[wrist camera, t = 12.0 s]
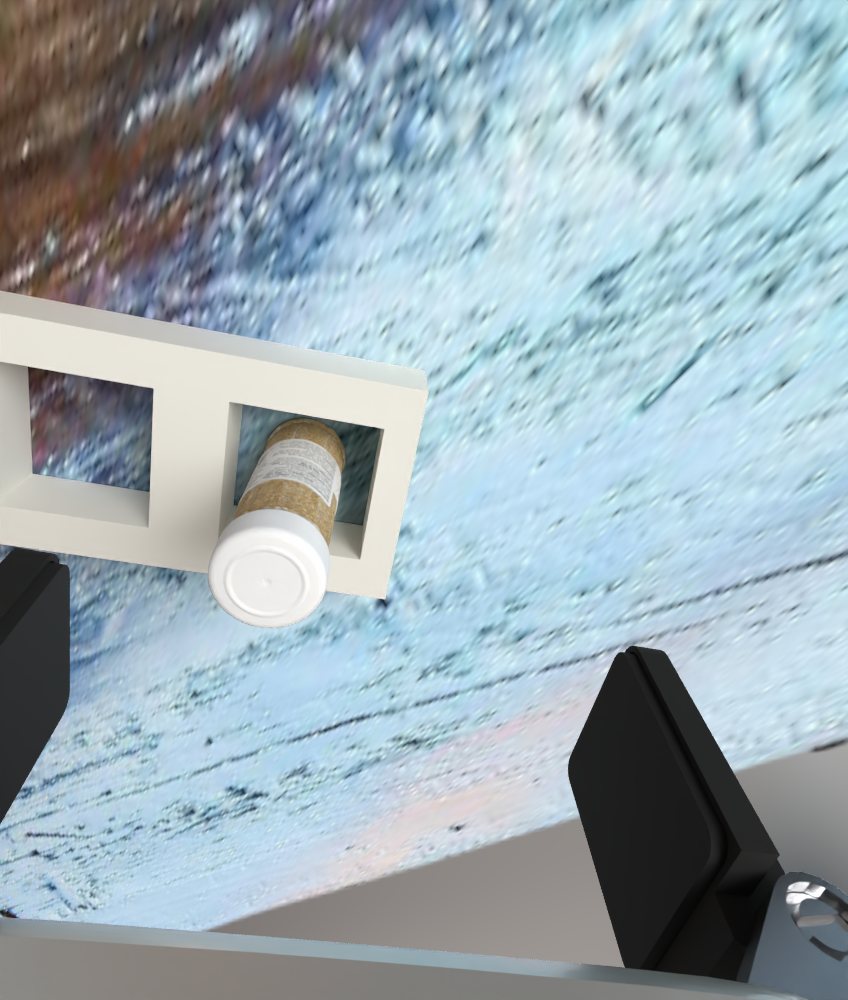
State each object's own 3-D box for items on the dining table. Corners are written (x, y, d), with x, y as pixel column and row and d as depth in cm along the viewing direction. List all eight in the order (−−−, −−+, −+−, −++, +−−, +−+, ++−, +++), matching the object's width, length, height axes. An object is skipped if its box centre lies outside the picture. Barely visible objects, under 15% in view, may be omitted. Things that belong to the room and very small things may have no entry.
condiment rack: (-13, 288, 33) (-62, 301, 30) (424, 370, 36) (428, 391, 32) (1, 504, 38) (-40, 538, 35) (385, 562, 41) (385, 599, 37)
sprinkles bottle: (315, 505, 39) (281, 651, 27) (248, 459, 38) (181, 592, 26) (363, 447, 38) (350, 574, 26) (295, 397, 36) (247, 507, 24)
